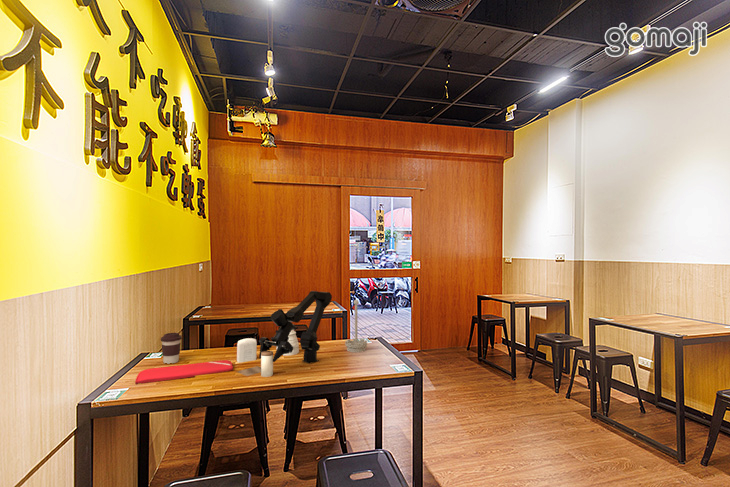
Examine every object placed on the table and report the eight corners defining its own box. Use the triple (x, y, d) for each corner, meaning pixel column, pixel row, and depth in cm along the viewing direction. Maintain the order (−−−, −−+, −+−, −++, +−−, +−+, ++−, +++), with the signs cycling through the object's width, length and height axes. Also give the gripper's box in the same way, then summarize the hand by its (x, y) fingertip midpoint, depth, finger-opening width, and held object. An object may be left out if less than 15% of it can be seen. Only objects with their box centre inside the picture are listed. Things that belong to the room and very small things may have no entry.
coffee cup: (156, 363, 197) (156, 334, 197) (172, 358, 206) (172, 331, 207) (169, 365, 193) (170, 336, 194) (185, 360, 202) (185, 332, 203)
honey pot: (274, 355, 212) (274, 323, 213) (279, 349, 225) (279, 319, 226) (296, 355, 213) (296, 323, 213) (300, 349, 225) (300, 319, 226)
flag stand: (371, 350, 223) (371, 300, 224) (351, 353, 216) (351, 301, 217) (360, 346, 234) (360, 298, 235) (341, 349, 227) (341, 299, 228)
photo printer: (255, 359, 205) (255, 336, 205) (257, 361, 201) (257, 338, 202) (235, 362, 199) (236, 339, 199) (238, 364, 196) (238, 340, 196)
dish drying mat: (140, 375, 180) (140, 367, 180) (231, 365, 196) (231, 357, 196) (134, 385, 165) (135, 377, 165) (233, 373, 181) (233, 366, 181)
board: (257, 367, 190) (257, 366, 190) (269, 371, 183) (269, 370, 183) (235, 373, 181) (235, 371, 181) (247, 377, 174) (247, 376, 174)
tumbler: (265, 373, 179) (266, 350, 180) (275, 374, 177) (275, 351, 178) (258, 376, 174) (258, 352, 175) (268, 378, 172) (268, 354, 173)
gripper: (305, 343, 185) (289, 372, 175) (278, 339, 195) (262, 366, 185) (294, 330, 178) (276, 359, 169) (267, 326, 189) (249, 353, 179)
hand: (266, 360), depth 176 cm, fingers open, 9 cm apart
